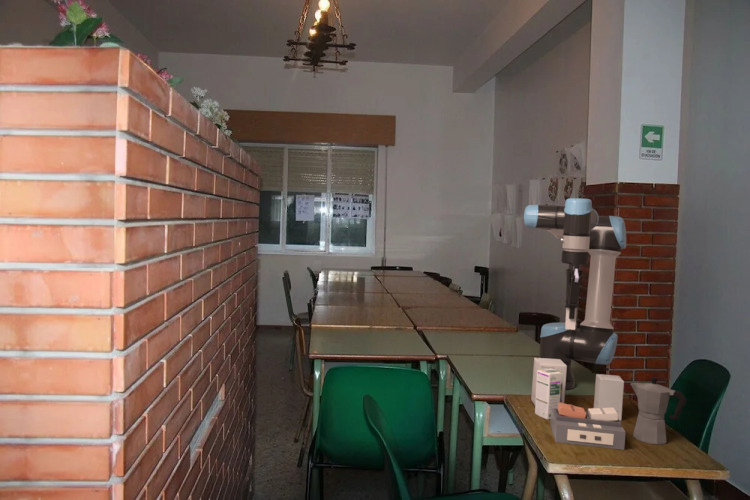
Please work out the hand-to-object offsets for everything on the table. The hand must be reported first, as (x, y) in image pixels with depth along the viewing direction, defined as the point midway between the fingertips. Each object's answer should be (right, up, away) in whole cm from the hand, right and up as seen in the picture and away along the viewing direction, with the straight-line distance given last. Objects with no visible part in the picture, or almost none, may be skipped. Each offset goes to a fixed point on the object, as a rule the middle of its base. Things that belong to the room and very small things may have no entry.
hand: (570, 328), depth 173 cm
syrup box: (-4, -29, +9) cm, 31 cm away
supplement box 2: (+16, -30, +12) cm, 36 cm away
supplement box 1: (-1, -28, +20) cm, 35 cm away
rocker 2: (+7, -23, -8) cm, 26 cm away
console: (+2, -30, -7) cm, 31 cm away
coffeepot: (+22, -31, -7) cm, 39 cm away
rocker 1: (-2, -23, -7) cm, 24 cm away
